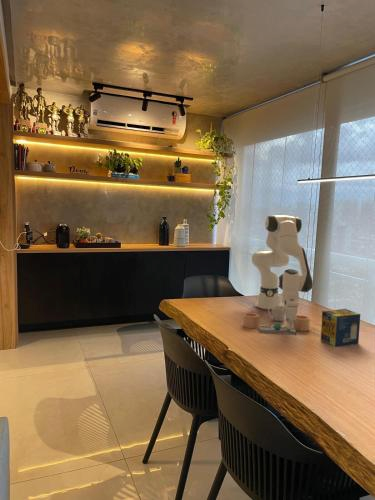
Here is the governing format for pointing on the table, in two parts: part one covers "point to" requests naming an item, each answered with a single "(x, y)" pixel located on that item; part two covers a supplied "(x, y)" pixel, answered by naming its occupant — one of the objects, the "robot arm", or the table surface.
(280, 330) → the tray
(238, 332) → the table surface
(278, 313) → the cup
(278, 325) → the ball
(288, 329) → the ball
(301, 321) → the tube
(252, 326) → the tube
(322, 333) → the protein box
